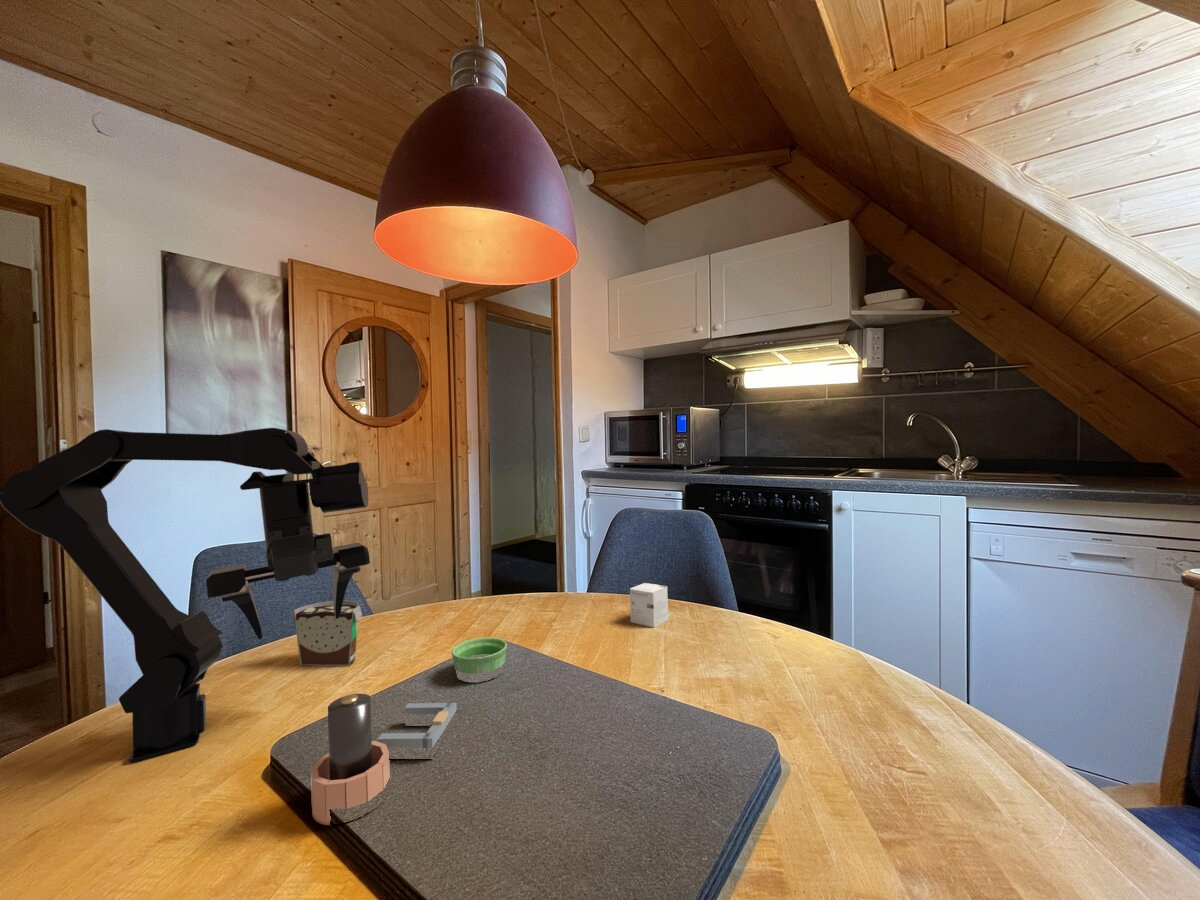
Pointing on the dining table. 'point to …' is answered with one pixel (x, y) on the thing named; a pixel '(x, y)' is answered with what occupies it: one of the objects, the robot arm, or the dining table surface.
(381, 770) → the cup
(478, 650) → the ramekin
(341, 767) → the cylinder
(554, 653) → the dining table surface
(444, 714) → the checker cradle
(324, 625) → the food container
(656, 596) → the skincare box
